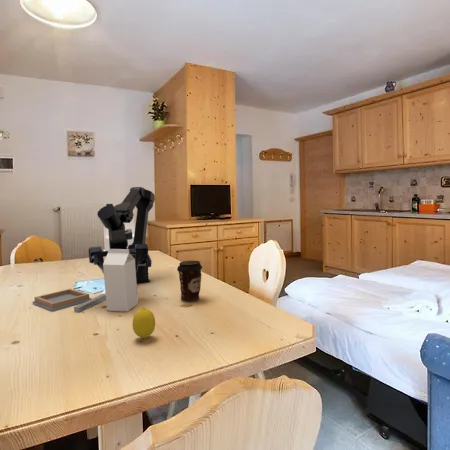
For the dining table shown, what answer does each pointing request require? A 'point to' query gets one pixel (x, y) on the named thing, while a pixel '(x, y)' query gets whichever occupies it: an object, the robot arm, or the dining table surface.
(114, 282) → the milk carton
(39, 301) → the brown and grey tray
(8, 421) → the dining table surface
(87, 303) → the steel rail
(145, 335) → the lemon
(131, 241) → the white tall block
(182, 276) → the coffee cup
